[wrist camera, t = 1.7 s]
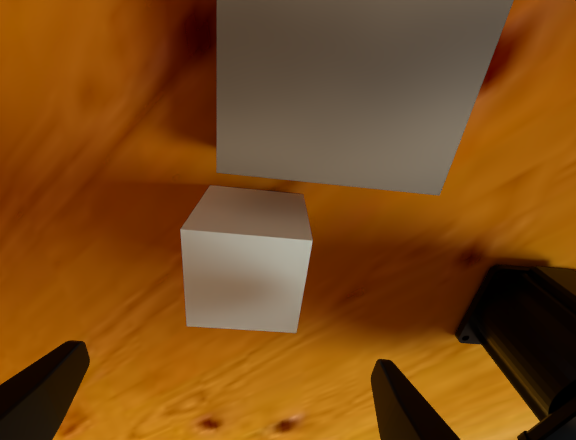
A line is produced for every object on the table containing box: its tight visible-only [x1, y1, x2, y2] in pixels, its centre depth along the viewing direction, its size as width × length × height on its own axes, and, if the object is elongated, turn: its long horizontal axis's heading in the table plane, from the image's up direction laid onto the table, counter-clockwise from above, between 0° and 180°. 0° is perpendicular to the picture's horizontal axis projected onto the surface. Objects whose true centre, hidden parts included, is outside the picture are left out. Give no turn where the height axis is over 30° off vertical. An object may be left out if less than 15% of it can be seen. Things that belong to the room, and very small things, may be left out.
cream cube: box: [180, 185, 313, 333], centre depth 14 cm, size 5×5×5 cm
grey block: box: [217, 0, 514, 195], centre depth 11 cm, size 9×9×4 cm
